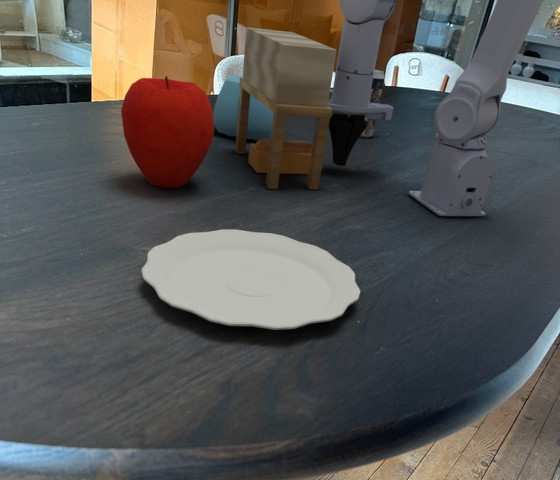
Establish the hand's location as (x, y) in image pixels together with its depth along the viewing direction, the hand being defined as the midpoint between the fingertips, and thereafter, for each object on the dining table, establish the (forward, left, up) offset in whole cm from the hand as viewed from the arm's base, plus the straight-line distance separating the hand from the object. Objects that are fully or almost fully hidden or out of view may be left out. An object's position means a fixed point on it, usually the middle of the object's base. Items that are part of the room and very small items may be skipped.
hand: (338, 163), depth 95 cm
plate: (-39, +26, -1) cm, 47 cm away
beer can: (+25, -16, -1) cm, 30 cm away
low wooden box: (0, +9, -1) cm, 9 cm away
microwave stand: (0, +11, -1) cm, 11 cm away
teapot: (+22, +9, -1) cm, 24 cm away
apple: (-8, +29, -1) cm, 30 cm away
